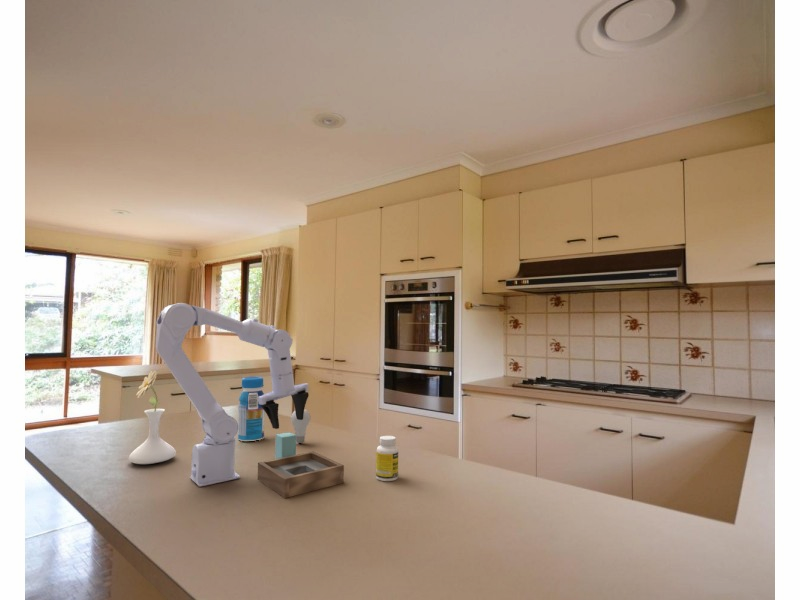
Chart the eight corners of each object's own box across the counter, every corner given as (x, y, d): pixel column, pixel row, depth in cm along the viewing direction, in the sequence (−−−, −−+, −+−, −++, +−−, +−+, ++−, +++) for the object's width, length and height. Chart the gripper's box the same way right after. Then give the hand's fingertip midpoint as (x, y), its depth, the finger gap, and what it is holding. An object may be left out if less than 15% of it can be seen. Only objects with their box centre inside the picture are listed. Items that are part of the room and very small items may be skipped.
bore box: (284, 498, 94) (284, 479, 95) (257, 479, 106) (257, 462, 106) (343, 482, 104) (343, 465, 104) (313, 466, 115) (313, 451, 116)
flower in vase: (133, 457, 123) (136, 368, 124) (178, 453, 127) (181, 367, 128) (122, 472, 111) (126, 372, 112) (172, 467, 115) (175, 371, 116)
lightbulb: (312, 441, 141) (313, 407, 142) (306, 446, 135) (307, 410, 136) (294, 440, 141) (294, 406, 142) (287, 446, 135) (288, 410, 136)
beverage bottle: (231, 441, 140) (233, 378, 142) (248, 435, 149) (249, 376, 150) (254, 443, 138) (255, 379, 139) (269, 437, 146) (271, 376, 147)
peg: (281, 468, 114) (282, 437, 114) (275, 464, 117) (275, 434, 118) (295, 465, 117) (296, 435, 117) (288, 461, 120) (289, 432, 120)
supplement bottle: (395, 482, 104) (395, 440, 105) (373, 481, 105) (373, 439, 106) (400, 475, 109) (400, 435, 110) (379, 473, 110) (379, 434, 111)
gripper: (265, 381, 109) (272, 434, 110) (312, 368, 120) (318, 417, 121) (251, 379, 114) (258, 430, 115) (297, 367, 125) (303, 414, 125)
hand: (288, 423), depth 118 cm, fingers open, 7 cm apart
